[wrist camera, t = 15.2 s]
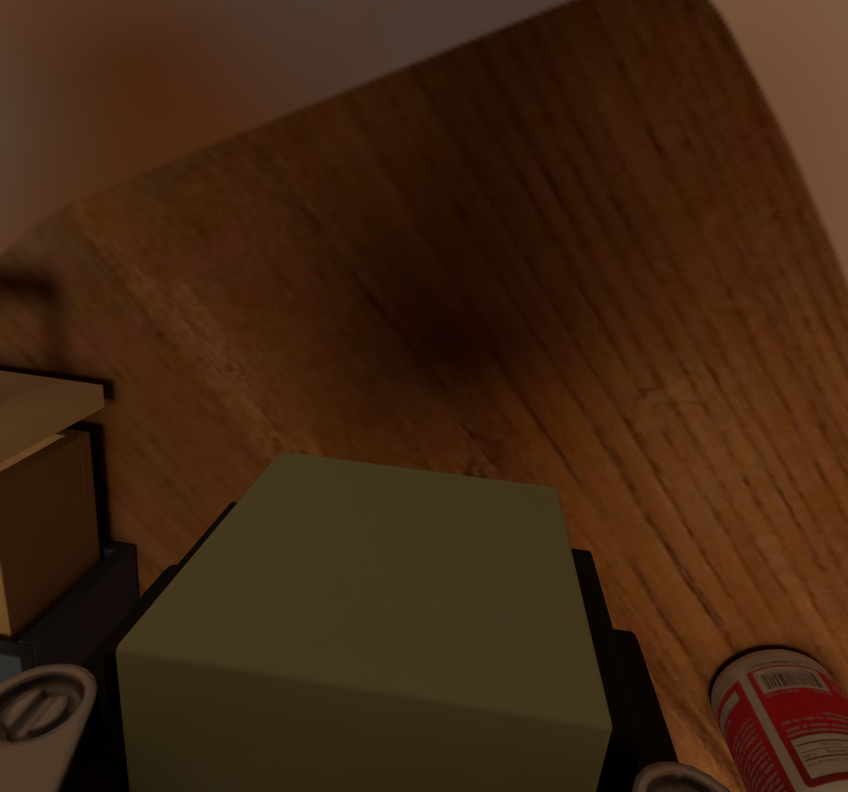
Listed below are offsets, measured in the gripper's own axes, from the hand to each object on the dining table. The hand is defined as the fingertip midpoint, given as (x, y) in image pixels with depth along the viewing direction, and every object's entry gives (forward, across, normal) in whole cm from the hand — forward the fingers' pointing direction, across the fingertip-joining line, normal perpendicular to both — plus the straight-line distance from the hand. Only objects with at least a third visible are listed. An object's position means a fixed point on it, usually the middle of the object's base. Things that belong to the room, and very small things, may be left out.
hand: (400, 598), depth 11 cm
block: (0, 0, 0) cm, 0 cm away
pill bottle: (+18, -19, +16) cm, 30 cm away
